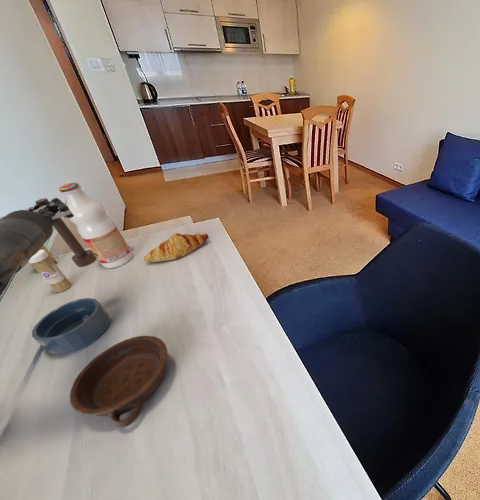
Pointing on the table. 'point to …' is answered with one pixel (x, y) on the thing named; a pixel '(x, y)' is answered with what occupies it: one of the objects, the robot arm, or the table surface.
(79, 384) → the dish
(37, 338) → the bowl
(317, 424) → the table surface
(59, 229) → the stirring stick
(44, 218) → the robot arm
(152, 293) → the table surface
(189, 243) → the croissant
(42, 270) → the sprinkles bottle
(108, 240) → the fruit juice
